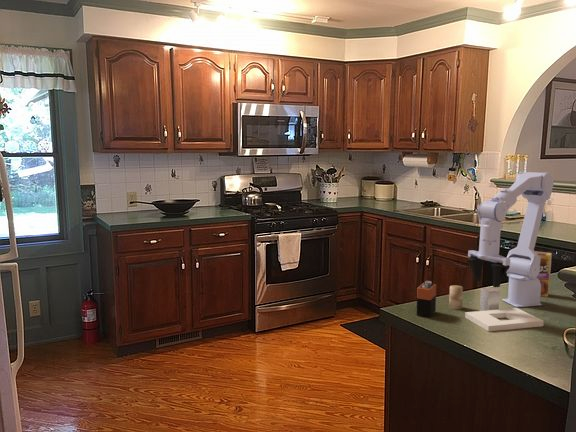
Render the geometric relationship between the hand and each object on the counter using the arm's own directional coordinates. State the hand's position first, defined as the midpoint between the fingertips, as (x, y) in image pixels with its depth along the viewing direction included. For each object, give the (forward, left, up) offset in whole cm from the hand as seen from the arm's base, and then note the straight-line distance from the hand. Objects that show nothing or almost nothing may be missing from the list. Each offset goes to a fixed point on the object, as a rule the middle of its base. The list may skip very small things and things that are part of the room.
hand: (486, 283), depth 152 cm
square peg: (-4, -4, -10) cm, 12 cm away
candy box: (-30, -16, -11) cm, 36 cm away
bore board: (-2, +6, -10) cm, 12 cm away
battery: (+17, -6, -11) cm, 21 cm away
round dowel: (+5, -9, -10) cm, 15 cm away
